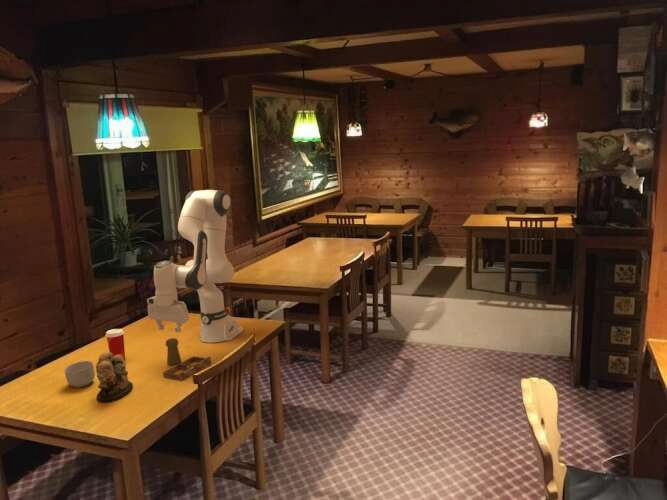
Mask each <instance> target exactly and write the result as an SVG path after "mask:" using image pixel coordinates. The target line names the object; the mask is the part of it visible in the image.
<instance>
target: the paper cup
mask: <svg viewBox="0 0 667 500" xmlns="http://www.w3.org/2000/svg"><path fill="white" fill-rule="evenodd" d="M124 334H125V332H124V330H123V328H113V329H109V330H107V331H106V332H105V337H106V342H107V347H108V352H111V353H112V354H113V356H115V355H121V356H122V358H123V360H124V362H125V361H126V355H125V354H126V352H125V341H124V340H125V339H124V338H125V337H124Z"/></svg>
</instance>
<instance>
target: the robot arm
mask: <svg viewBox="0 0 667 500" xmlns="http://www.w3.org/2000/svg"><path fill="white" fill-rule="evenodd" d="M184 199H185V200H184V204H183V206H182V209H181V211H180V216H179V218H178V219H179V220H178V223H177V231H178V233H179V234H180V236H182V238H184V239H185V240H188V242H191V243H192V245H193V248H194V249H193V259H190V260H188V261H187V262H186V263H185V265H181V264H175V263H173V261H171V260H163V261H162V260H161V261H159V262H157V263H156V264H155V265H154V267H153V284H154V287H155V291H154V292H155V293H154V296H152V297H149V298H147V299H146V303H147V304H148V305H147V315H148V318H149V319H150V320H155V322H156V325H157V326H158V330H161V331H163V330H164V329H165V324H164V325H163V322H170V323H175V324H176V327H175V328H174V329H175V333H181V331H182V326H183V324H186V323H187V322H189V320H190V317H189V316H190V314H189V310H188V308H187V307H188V306H187V304H186V303H185V302H184V301H183V300H182V301H181V300H178V299H179V298H178V290H177V288H180V289H189V290H193V291H197V293H198V300H199V303H200V304H199V305H200V306H199V307H200V311H199V312H200V313H199V314H200V319H201V320H200V333H199V337H200V341H201V342H202V343H207V344H208V343H209V344H211V343H213V344H214V343H219V342H220V343H221V342H227V341H232V340H233V339H234V338H236V337H237V336H238V335H240V334H241V333H242V332H243V331H244V328H243V327H241V326H239V324H238V321H237V319H236V318H234V317H233V316H231V315H229V314H228V313H229V312H230V311H231V307H229V306H228V307H227V306H226V307H225V301H224V300H225V298H224V294H223V291H221V290H220V289H219V288H218V287H217V286H216V284H224V283H229V282H231V280H233V278H234V274H235V268H234V266H233V263H231V262H230V261H229V258H228V257H227V254H226V251H225V245H226V234H227V222H228V221H227V213H228V212H229V210H230V208H231V205H232V199H231V196H230V194H229V193H228V192H227V191H225V190H221V189H220V190H217V189H216V190H215V189H205V190H204V189H203V190H202V189H201V190H191V191H189V192H188V193H187V194H186V195H185V198H184Z"/></svg>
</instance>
